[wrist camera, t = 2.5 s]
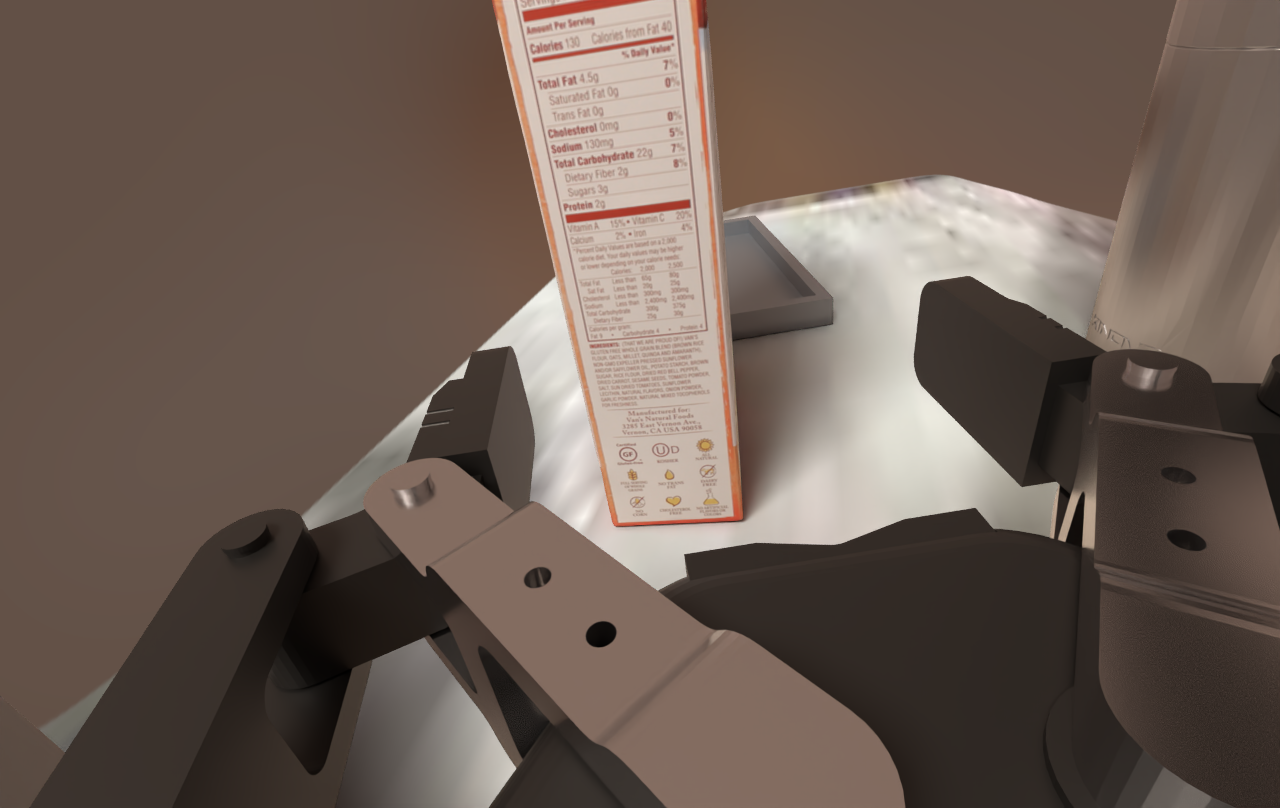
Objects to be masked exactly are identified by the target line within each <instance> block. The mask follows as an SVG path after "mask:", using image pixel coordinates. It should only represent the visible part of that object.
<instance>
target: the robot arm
mask: <svg viewBox="0 0 1280 808" xmlns="http://www.w3.org/2000/svg"><path fill="white" fill-rule="evenodd" d="M1166 41H1167V43H1166V44H1165V48H1164V51H1163V55H1162V58H1161V62H1160V66H1159V69H1158V73H1157V77H1156V80H1155V84H1154V88H1153V92H1152V95H1151V99H1150V103H1149V106H1148V110H1147V114H1146V118H1145V121H1144V125H1143V128H1142V132H1141V136H1140V139H1139V143H1138V147H1137V151H1136V154H1135V158H1134V162H1133V165H1132V169H1131V173H1130V176H1129V180H1128V184H1127V187H1126V191H1125V195H1124V198H1123V202H1122V206H1121V210H1120V213H1119V217H1118V221H1117V224H1116V228H1115V232H1114V235H1113V239H1112V243H1111V246H1110V250H1109V254H1108V257H1107V261H1106V265H1105V268H1104V272H1103V275H1102V279H1101V283H1100V287H1099V291H1098V295H1097V298H1096V302H1095V306H1094V310H1093V314H1092V317H1091V321H1090V325H1089V328H1088V332H1087V336H1086V339H1085V338H1083V337H1081V336H1080V335H1078V334H1076V333H1075V332H1073V331H1071V330H1069V329H1068V328H1063V325H1061V324H1059V323H1058V322H1056V321H1054V320H1053V319H1051V318H1049V319H1047V317H1046V315H1044V314H1042V313H1041V312H1039V311H1037V310H1036V309H1034V308H1032V307H1031V306H1029V305H1027V304H1024V303H1021V302H1018V301H1014V300H1011V299H1008V298H1006V297H1004V296H1003V295H1001V294H999V293H998V292H996V291H994V290H993V289H991V288H989V287H988V286H986V285H984V284H983V283H981V282H979V281H978V280H976V279H975V278H973V277H971V276H965V277H958V278H952V279H945V280H939V281H933V282H928V283H927V284H926V285H925V286H924V288H923V290H922V293H921V298H920V306H919V315H918V324H917V333H916V342H915V351H914V367H915V372H916V375H917V378H918V380H919V382H920V384H921V385H922V387H923V388H924V389H925V390H926V391H927V392H928V393H929V394H930V395H931V396H932V397H933V398H934V399H935V400H936V401H937V402H938V403H939V404H940V405H941V406H942V407H943V408H944V409H945V410H946V411H947V412H948V413H949V414H950V415H951V416H952V417H953V418H954V419H955V420H956V421H957V422H958V423H959V424H960V425H961V426H962V427H963V428H964V429H965V430H966V431H967V432H968V433H969V434H970V435H971V436H972V437H973V438H974V439H975V440H976V441H977V442H978V443H979V444H980V445H981V446H982V447H983V448H984V449H985V450H986V451H987V452H988V453H989V454H990V455H991V456H992V457H993V458H994V459H995V460H996V461H997V462H998V464H999V465H1000V466H1001V467H1002V468H1003V469H1004V470H1005V471H1006V472H1007V473H1008V474H1009V475H1010V476H1011V477H1012V478H1013V479H1014V480H1015V481H1016V482H1017V483H1018V484H1019V485H1020V486H1021V487H1025V486H1031V485H1037V484H1044V483H1050V482H1058V483H1059V486H1058V489H1057V493H1056V496H1055V500H1054V504H1053V513H1052V522H1051V531H1050V538H1049V537H1045V536H1042V535H1037V534H1032V533H1026V532H1021V531H1013V530H1003V529H993V528H992V527H991V526H990V525H989V523H988V522H987V521H986V520H985V519H984V517H983V516H982V515H981V514H980V513H979V512H978V510H977V509H976V508H972V509H966V510H960V511H954V512H947V513H941V514H935V515H929V516H922V517H916V518H910V519H904V520H901V521H899V522H896V523H894V524H891V525H888V526H886V527H883V528H881V529H878V530H876V531H873V532H870V533H868V534H865V535H863V536H860V537H858V538H855V539H852V540H850V541H847V542H845V543H842V544H837V545H809V544H774V543H753V544H747V545H741V546H734V547H728V548H722V549H715V550H709V551H703V552H697V553H690V554H684V556H685V564H686V572H687V577H685V578H683V579H680V580H678V581H676V582H674V583H672V584H670V585H668V586H666V587H664V588H662V589H660V590H659V591H657V590H656V589H654V588H653V587H651V586H650V585H649V584H647V583H646V582H645V581H643V580H642V579H641V578H639V577H638V576H637V575H635V574H634V573H633V572H631V571H630V570H629V569H627V568H626V567H625V566H623V565H622V564H621V563H619V562H618V561H617V560H615V559H614V558H613V557H611V556H610V555H609V554H607V553H606V552H604V551H603V550H602V549H600V548H599V547H598V546H596V545H595V544H594V543H592V542H591V541H590V540H588V539H587V538H586V537H584V536H583V535H582V534H580V533H579V532H578V531H576V530H575V529H574V528H572V527H571V526H570V525H568V524H567V523H566V522H564V521H563V520H561V519H560V518H559V517H557V516H556V515H555V514H553V513H552V512H551V511H549V510H548V509H547V508H545V507H544V506H543V505H541V504H539V503H537V502H533V501H531V502H529V500H530V490H531V479H532V469H533V459H534V449H535V437H534V428H533V422H532V417H531V413H530V409H529V405H528V401H527V397H526V393H525V389H524V386H523V382H522V378H521V374H520V370H519V366H518V362H517V359H516V355H515V353H514V350H513V348H512V347H511V346H508V347H502V348H495V349H489V350H482V351H476V352H472V354H471V357H470V360H469V363H468V366H467V369H466V372H465V375H464V378H463V379H457V380H450V381H448V382H447V383H446V384H445V385H444V386H443V387H442V388H441V389H440V390H439V391H438V392H437V393H436V394H435V395H433V397H432V400H431V402H430V405H429V407H428V410H427V415H425V417H424V420H423V422H422V428H420V430H419V433H418V435H417V438H416V440H415V443H414V445H413V448H412V450H411V453H410V455H409V458H408V460H407V463H405V464H403V465H400V466H398V467H396V468H394V469H392V470H390V471H388V472H387V473H385V474H384V475H382V476H381V477H380V478H378V479H377V480H376V481H375V482H374V483H373V484H372V485H371V486H370V487H369V489H368V490H367V492H366V494H365V496H364V501H363V504H364V508H365V509H364V510H362V511H360V512H358V513H356V514H353V515H351V516H348V517H345V518H343V519H340V520H337V521H334V522H331V523H329V524H326V525H323V526H320V527H317V528H315V529H312V530H308V528H307V527H306V525H305V523H304V521H303V519H302V518H301V516H300V515H299V514H298V513H296V512H294V511H291V510H286V509H274V510H267V511H264V512H259V513H256V514H253V515H250V516H247V517H245V518H242V519H240V520H238V521H236V522H234V523H232V524H231V525H229V526H227V527H225V528H224V529H222V530H221V531H219V532H218V533H216V534H215V535H214V536H212V537H211V538H210V539H209V540H208V541H207V542H206V543H205V544H204V545H203V546H202V547H201V548H200V549H199V550H198V552H197V553H196V554H195V556H194V557H193V559H192V560H191V562H190V563H189V565H188V567H187V568H186V570H185V571H184V573H183V574H182V576H181V577H180V579H179V580H178V582H177V583H176V585H175V586H174V588H173V589H172V591H171V592H170V594H169V595H168V597H167V598H166V600H165V602H164V603H163V605H162V606H161V608H160V609H159V611H158V612H157V614H156V615H155V617H154V618H153V620H152V621H151V623H150V624H149V626H148V628H147V629H146V630H145V632H144V634H143V635H142V637H141V638H140V640H139V641H138V643H137V644H136V646H135V647H134V649H133V650H132V652H131V653H130V655H129V657H128V658H127V659H126V661H125V663H124V664H123V666H122V667H121V669H120V670H119V672H118V673H117V675H116V676H115V678H114V679H113V681H112V682H111V684H110V685H109V687H108V688H107V690H106V691H105V693H104V694H103V696H102V698H101V699H100V701H99V702H98V704H97V705H96V707H95V708H94V710H93V711H92V713H91V714H90V716H89V717H88V719H87V720H86V722H85V723H84V725H83V726H82V728H81V730H80V731H79V733H78V734H77V736H76V737H75V739H74V740H73V742H72V743H71V745H70V746H69V748H68V749H67V751H66V752H65V754H64V755H63V757H62V758H61V760H60V762H59V763H58V765H57V766H56V768H55V769H54V771H53V772H52V774H51V775H50V777H49V778H48V780H47V781H46V783H45V784H44V786H43V787H42V789H41V790H40V792H39V794H38V795H37V797H36V798H35V800H34V801H33V803H32V804H31V806H30V807H29V808H335V805H336V801H337V797H338V793H339V789H340V786H341V782H342V778H343V774H344V770H345V766H346V762H347V758H348V754H349V750H350V747H351V743H352V739H353V735H354V731H355V727H356V723H357V719H358V715H359V712H360V708H361V704H362V700H363V696H364V692H365V688H366V684H367V680H368V676H369V673H370V669H371V665H372V660H373V659H375V658H377V657H380V656H382V655H384V654H387V653H389V652H391V651H394V650H396V649H398V648H401V647H403V646H405V645H408V644H410V643H412V642H415V641H417V640H419V639H421V638H424V637H425V639H426V641H427V642H428V644H429V645H430V646H431V647H432V649H433V650H434V651H435V653H436V654H437V655H438V657H439V658H440V659H441V660H442V662H443V663H444V664H445V666H446V667H447V668H448V669H449V671H450V672H451V673H452V675H453V676H454V677H455V679H456V680H457V681H458V682H459V684H460V685H461V686H462V688H463V689H464V690H465V692H466V693H467V694H468V695H469V697H470V698H471V699H472V701H473V702H474V703H475V704H476V706H477V707H478V708H479V710H480V711H481V712H482V714H483V715H484V717H485V718H486V720H487V721H488V723H489V724H490V726H491V728H492V729H493V731H494V733H495V735H496V736H497V738H498V740H499V742H500V743H501V745H502V747H503V748H504V750H505V752H506V753H507V755H508V756H509V758H510V759H511V761H512V762H513V764H514V765H515V767H516V768H517V769H516V770H515V771H514V773H513V774H512V776H511V777H510V779H509V780H508V781H507V783H506V784H505V786H504V787H503V788H502V790H501V791H500V793H499V794H498V795H497V797H496V798H495V800H494V801H493V802H492V804H491V805H490V807H489V808H1280V0H1177V2H1176V6H1175V10H1174V13H1173V17H1172V20H1171V25H1170V28H1169V31H1168V35H1167V39H1166Z"/></svg>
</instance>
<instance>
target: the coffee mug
mask: <svg viewBox="0 0 1280 808" xmlns="http://www.w3.org/2000/svg"><path fill="white" fill-rule="evenodd" d="M64 754H65V752H63V751H62V750H61V749H60V748H59V747H58V746H57V745H56V744H54V743H53V742H52V741H51V740H50V739H49V738H48V737H46V736H45V735H44V734H43V733H42V732H41V731H40V730H39V729H37V728H36V727H35V726H34V725H33V724H32V723H30V722H29V721H28V720H27V719H26V718H25V717H24V716H23V715H21V714H20V713H19V712H18V711H17V710H16V709H15V708H14V707H12V706H11V705H10V704H9V703H8V702H7V701H6V700H5V699H3V698H2V697H1V696H0V808H29V807H30V806H31V804H32V803H33V801H34V800H35V798H36V797H37V795H38V794H39V792H40V790H41V789H42V787H43V786H44V784H45V783H46V781H47V780H48V778H49V777H50V775H51V774H52V772H53V771H54V769H55V768H56V766H57V765H58V763H59V762H60V760H61V758H62V757H63V755H64Z"/></svg>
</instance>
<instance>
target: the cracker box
mask: <svg viewBox="0 0 1280 808" xmlns="http://www.w3.org/2000/svg"><path fill="white" fill-rule="evenodd" d="M492 2H493V7H494V11H495V15H496V19H497V23H498V27H499V32H500V36H501V40H502V45H503V49H504V54H505V59H506V64H507V69H508V73H509V77H510V81H511V86H512V90H513V94H514V98H515V102H516V107H517V111H518V115H519V119H520V123H521V128H522V132H523V135H524V140H525V144H526V148H527V152H528V157H529V161H530V165H531V170H532V174H533V178H534V183H535V187H536V191H537V196H538V200H539V205H540V209H541V213H542V217H543V222H544V226H545V230H546V235H547V239H548V244H549V248H550V252H551V257H552V261H553V266H554V270H555V274H556V279H557V283H558V288H559V292H560V296H561V301H562V305H563V310H564V314H565V318H566V323H567V327H568V331H569V336H570V340H571V344H572V349H573V353H574V358H575V362H576V366H577V371H578V375H579V379H580V383H581V388H582V392H583V396H584V401H585V405H586V409H587V414H588V418H589V423H590V427H591V431H592V436H593V440H594V444H595V449H596V453H597V457H598V461H599V464H600V468H601V472H602V476H603V481H604V487H605V492H606V496H607V501H608V505H609V510H610V513H611V518H612V522H613V524H614V526H634V525H653V524H674V523H698V522H721V521H738V520H742V518H743V508H742V490H741V470H740V451H739V436H738V420H737V404H736V388H735V374H734V360H733V347H732V333H731V319H730V306H729V292H728V278H727V263H726V249H725V235H724V222H723V208H722V195H721V181H720V168H719V155H718V142H717V129H716V115H715V102H714V89H713V76H712V63H711V50H710V39H709V29H708V28H709V27H708V17H707V5H706V0H492Z"/></svg>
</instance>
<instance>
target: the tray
mask: <svg viewBox="0 0 1280 808" xmlns="http://www.w3.org/2000/svg"><path fill="white" fill-rule="evenodd" d="M723 222H724V235H725V249H726V263H727V278H728V292H729V306H730V319H731V333H732V340H737V339H743V338H749V337H756V336H762V335H768V334H774V333H780V332H786V331H792V330H799V329H805V328H811V327H817V326H823V325H829V324H832V317H833V297H832V296H831V295H830V294H829V293H828V292H827V291H826V290H825V289H824V288H823V287H822V286H821V285H820V283H819V282H818V281H817V280H816V279H815V278H814V277H813V276H812V275H811V274H810V273H809V272H808V271H807V270H806V269H805V268H804V267H803V266H802V265H801V263H800V262H799V261H798V260H797V259H796V258H795V257H794V256H793V255H792V254H791V253H790V252H789V251H788V250H787V249H786V248H785V247H784V246H783V245H782V243H781V242H780V241H779V240H778V239H777V238H776V237H775V236H774V235H773V234H772V233H771V232H770V231H769V230H768V229H767V228H766V227H765V226H764V225H763V223H762V222H761V221H760V220H759V219H758V218H757V217H756V216H750V217H743V218H737V219H731V220H725V221H723Z"/></svg>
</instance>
